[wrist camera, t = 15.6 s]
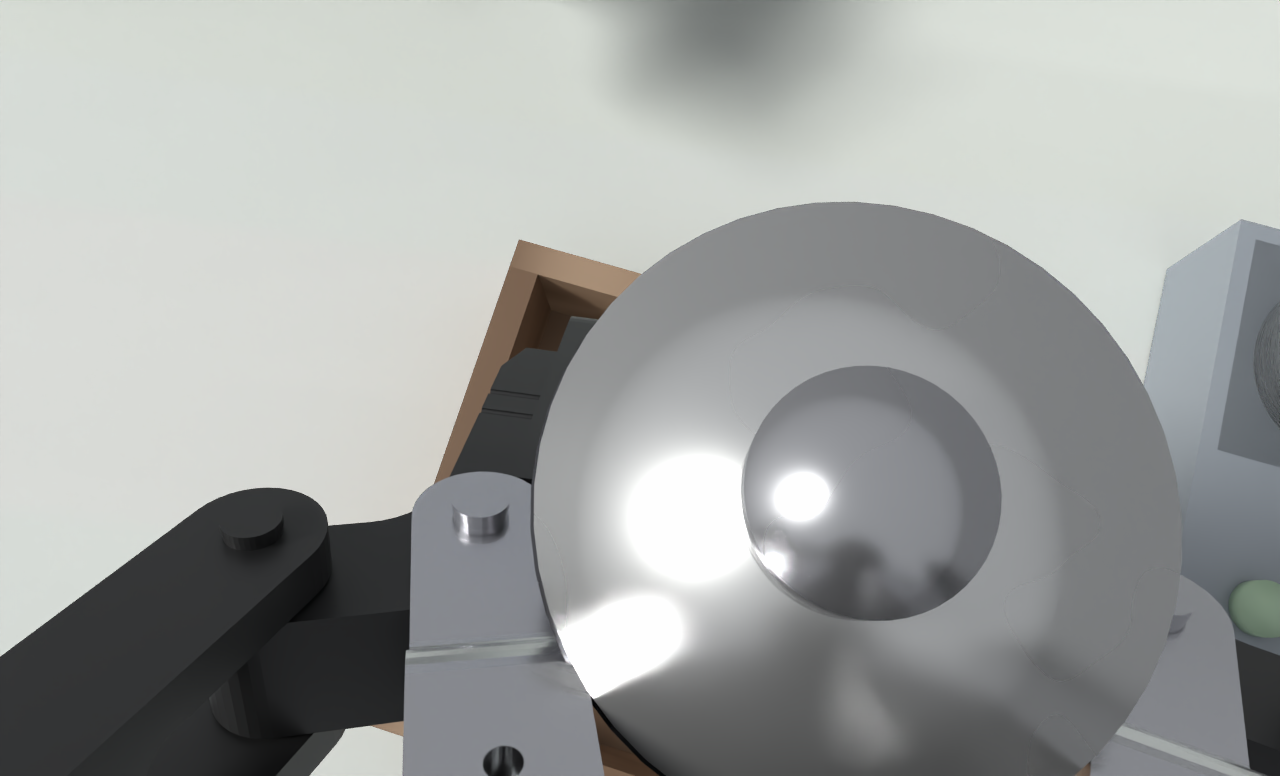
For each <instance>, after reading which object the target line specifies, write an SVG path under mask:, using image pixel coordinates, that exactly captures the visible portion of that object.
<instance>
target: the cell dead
mask: <svg viewBox="0 0 1280 776" xmlns="http://www.w3.org/2000/svg"><path fill="white" fill-rule="evenodd" d="M530 532H531V540H532V549H533V557H534V566H535V573H536V577H537V581H538V585H539V589H540V593H541V597H542V601H543V605H544V609H545V613H546V616H547V618H548V621H549V623H550V626H551V628H552V631H553V633H554V636H555V638H556V641H557V643H558V646H559V648H560V651H561V653H562V655H563V657H564V659H565V661H566V663H571V664H573V666H574V668H575V670H576V671H577V673H578V675H579V677H580V679H581V680H582V682H583V684H584V686H585V688H586V689H587V691H588V692H589V694H590V696H591V701H592V705H593V707H594V708H595V709H596V711H597V712H598V713H599V715H600V716H601V718H602V719H603V720H604V722H605V723H606V724H607V726H608V727H609V728H610V730H611V731H612V732H613V733H614V734H615V735H616V736H617V737H618V738H619V739H620V740H621V741H622V742H623V743H624V744H625V745H626V746H627V747H628V748H629V749H630V750H631V751H632V752H633V753H634V754H635V755H636V756H637V758H638V759H639V760H640V761H641V762H643V763H644V764H645V765H646V766H648V767H649V768H650V769H651V770H653V771H654V772H655V773H656V774H658V775H659V776H1074V775H1075V774H1077V773H1078V772H1079V771H1080V770H1081V769H1082V768H1083V767H1084V766H1085V765H1087V764H1088V763H1089V762H1090V761H1091V760H1092V759H1093V758H1094V757H1095V756H1097V755H1098V753H1099V752H1100V751H1101V750H1102V749H1103V747H1104V746H1105V745H1106V744H1107V743H1108V741H1109V740H1110V739H1111V738H1112V737H1113V735H1114V734H1115V733H1116V732H1117V731H1118V729H1119V728H1120V727H1121V726H1122V725H1123V723H1124V722H1125V721H1126V719H1127V718H1128V716H1129V714H1130V713H1131V711H1132V710H1133V708H1134V706H1135V705H1136V703H1137V701H1138V700H1139V698H1140V696H1141V695H1142V693H1143V692H1144V690H1145V688H1146V687H1147V685H1148V683H1149V681H1150V679H1151V676H1152V674H1153V672H1154V669H1155V667H1156V665H1157V662H1158V660H1159V658H1160V655H1161V653H1162V651H1163V648H1164V646H1165V643H1166V640H1167V636H1168V632H1169V629H1170V625H1171V621H1172V618H1173V614H1174V610H1175V607H1176V603H1177V596H1178V588H1179V580H1180V573H1181V565H1182V514H1181V507H1180V500H1179V493H1178V485H1177V478H1176V473H1175V469H1174V466H1173V462H1172V458H1171V455H1170V451H1169V447H1168V444H1167V440H1166V436H1165V433H1164V431H1163V428H1162V426H1161V423H1160V421H1159V419H1158V416H1157V414H1156V411H1155V409H1154V406H1153V404H1152V402H1151V399H1150V397H1149V394H1148V393H1147V391H1146V389H1145V387H1144V386H1143V384H1142V382H1141V380H1140V379H1139V377H1138V375H1137V373H1136V372H1135V370H1134V368H1133V366H1132V365H1131V363H1130V361H1129V359H1128V358H1127V356H1126V355H1125V354H1124V352H1123V351H1122V350H1121V348H1120V347H1119V346H1118V344H1117V343H1116V341H1115V340H1114V339H1113V337H1112V336H1111V335H1110V333H1109V332H1108V331H1107V329H1106V328H1105V327H1104V325H1103V324H1102V323H1101V322H1100V321H1099V320H1098V319H1097V318H1096V317H1095V316H1094V315H1093V314H1092V312H1091V311H1090V310H1089V309H1088V308H1087V307H1086V306H1085V305H1084V304H1083V303H1082V302H1081V301H1080V300H1079V299H1078V298H1077V297H1076V296H1075V295H1074V294H1073V293H1072V292H1071V291H1070V290H1068V289H1067V288H1066V287H1065V286H1064V285H1062V284H1061V283H1060V282H1059V281H1058V280H1056V279H1055V278H1054V277H1053V276H1052V275H1050V274H1049V273H1048V272H1047V271H1046V270H1044V269H1043V268H1042V267H1040V266H1039V265H1037V264H1036V263H1034V262H1033V261H1031V260H1029V259H1028V258H1026V257H1025V256H1023V255H1022V254H1020V253H1019V252H1017V251H1015V250H1014V249H1012V248H1011V247H1009V246H1008V245H1006V244H1004V243H1002V242H1000V241H997V240H995V239H993V238H991V237H989V236H987V235H985V234H983V233H981V232H979V231H977V230H975V229H973V228H971V227H968V226H965V225H962V224H959V223H956V222H954V221H951V220H948V219H945V218H942V217H939V216H936V215H934V214H929V213H925V212H920V211H916V210H911V209H907V208H902V207H898V206H891V205H881V204H871V203H861V202H828V203H811V204H804V205H797V206H790V207H783V208H777V209H773V210H769V211H766V212H762V213H758V214H755V215H751V216H748V217H744V218H740V219H738V220H735V221H733V222H730V223H728V224H726V225H723V226H721V227H718V228H716V229H713V230H711V231H709V232H706V233H704V234H702V235H700V236H699V237H697V238H695V239H693V240H692V241H690V242H688V243H686V244H685V245H683V246H681V247H679V248H678V249H676V250H674V251H672V252H670V253H669V254H668V255H666V256H665V257H664V258H662V259H661V260H660V261H658V262H657V263H656V264H654V265H653V266H652V267H651V268H649V269H648V270H647V271H645V272H644V273H643V274H641V275H640V276H639V277H638V278H637V279H636V280H635V281H634V282H633V283H632V284H631V285H630V286H629V287H627V288H626V289H625V290H624V291H623V292H622V293H621V294H620V295H619V296H618V297H617V298H616V299H615V300H614V301H613V302H612V303H611V304H610V306H609V307H608V308H607V309H606V310H605V312H604V313H603V314H602V315H601V317H600V318H599V319H598V321H597V322H596V323H595V324H594V326H593V327H592V328H591V329H590V331H589V332H588V333H587V335H586V336H585V337H584V338H583V340H582V342H581V343H580V345H579V347H578V348H577V350H576V352H575V354H574V355H573V357H572V359H571V360H570V362H569V364H568V365H567V367H566V369H565V370H564V372H563V374H562V377H561V379H560V381H559V384H558V386H557V388H556V391H555V393H554V395H553V398H552V400H551V402H550V405H549V407H548V409H547V413H546V417H545V420H544V424H543V427H542V431H541V434H540V438H539V442H538V445H537V449H536V456H535V463H534V470H533V477H532V484H531V516H530Z"/></svg>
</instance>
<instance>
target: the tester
mask: <svg viewBox="0 0 1280 776" xmlns="http://www.w3.org/2000/svg"><path fill="white" fill-rule="evenodd" d="M1278 303H1280V229H1276V228H1272V227H1268V226H1265V225H1261V224H1257V223H1253V222H1249V221H1246V220H1242V219H1241V220H1240V221H1238V222H1237V223H1235V224H1234V225H1232V226H1231V227H1229V228H1228V229H1226V230H1225V231H1223V232H1222V233H1220V234H1219V235H1217V236H1216V237H1214V238H1213V239H1211V240H1210V241H1208V242H1207V243H1205V244H1204V245H1202V246H1201V247H1199V248H1198V249H1196V250H1195V251H1193V252H1192V253H1190V254H1189V255H1187V256H1186V257H1184V258H1183V259H1181V260H1180V261H1178V262H1177V263H1175V264H1174V265H1172V266H1171V267H1169V268H1168V269H1167V272H1166V277H1165V282H1164V287H1163V292H1162V297H1161V302H1160V307H1159V312H1158V317H1157V322H1156V326H1155V331H1154V336H1153V341H1152V346H1151V351H1150V356H1149V361H1148V366H1147V371H1146V376H1145V381H1144V387H1145V389H1146V391H1147V393H1148V394H1149V397H1150V399H1151V402H1152V404H1153V406H1154V409H1155V411H1156V414H1157V416H1158V419H1159V421H1160V423H1161V426H1162V428H1163V431H1164V433H1165V436H1166V440H1167V444H1168V447H1169V451H1170V455H1171V458H1172V462H1173V466H1174V469H1175V473H1176V478H1177V485H1178V493H1179V500H1180V507H1181V514H1182V565H1181V573H1180V574H1181V575H1183V576H1184V577H1186V578H1188V579H1190V580H1191V581H1193V582H1195V583H1196V584H1197V585H1199V586H1200V587H1202V588H1203V589H1204V590H1206V591H1207V592H1208V593H1209V594H1210V595H1212V596H1213V597H1214V598H1215V599H1216V600H1217V601H1218V603H1219V604H1220V605H1221V606H1222V607H1223V609H1224V610H1225V611H1226V613H1227V614H1228V616H1229V618H1230V620H1231V622H1232V625H1233V629H1234V635H1235V639H1236V640H1239V641H1241V642H1244V643H1246V644H1249V645H1252V646H1254V647H1257V648H1260V649H1263V650H1266V651H1269V652H1271V653H1274V654H1277V655H1280V429H1279V427H1278V426H1277V425H1276V423H1275V422H1274V421H1273V420H1272V418H1271V417H1270V415H1269V413H1268V412H1267V410H1266V408H1265V406H1264V404H1263V402H1262V400H1261V398H1260V395H1259V392H1258V389H1257V386H1256V381H1255V376H1254V365H1253V357H1254V347H1255V343H1256V339H1257V335H1258V333H1259V331H1260V328H1261V326H1262V324H1263V322H1264V321H1265V319H1266V317H1267V316H1268V314H1269V313H1270V312H1271V311H1272V310H1273V308H1274V307H1275V306H1276V305H1277V304H1278Z"/></svg>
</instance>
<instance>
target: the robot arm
mask: <svg viewBox="0 0 1280 776" xmlns="http://www.w3.org/2000/svg"><path fill="white" fill-rule="evenodd" d="M597 321H598V319H590V318H583V317H575V316H571V318H570V320H569V322H568V325H567V327H566V330H565V332H564V335H563V338H562V340H561V343H560V346H559V348H558V351H557V352H556V351H548V350H540V349H533V348H525V349H524V350H523V351H521V352H520V353H518V354H517V355H516V356H514V357H513V358H511V359H510V360H509V361H507V362H506V363H505V364H503V365H502V366H501V368H500V370H499V372H498V374H497V376H496V378H495V380H494V382H493V385H492V387H491V389H490V394H489V393H488V395H487V397H486V400H485V402H484V404H483V406H482V410H481V413H479V415H478V417H477V419H476V421H475V423H474V425H473V427H472V430H471V432H470V434H469V436H468V438H467V440H466V442H465V445H464V447H463V449H462V451H461V453H460V455H459V457H458V459H457V462H456V464H455V466H454V468H453V470H452V472H451V474H450V477H448V478H445V479H443V480H441V481H439V482H437V483H435V484H433V485H432V486H430V487H429V488H428V489H426V490H425V491H424V492H423V493H422V494H421V495H420V497H419V498H418V499H417V501H416V502H415V505H414V507H413V511H412V512H410V513H408V514H405V515H402V516H399V517H396V518H392V519H387V520H383V521H375V522H367V523H355V524H343V525H332V526H328V522H327V517H326V514H325V512H324V510H323V508H322V507H321V506H320V505H319V504H318V503H317V502H316V501H314V500H313V499H312V498H310V497H308V496H306V495H304V494H302V493H299V492H296V491H292V490H287V489H281V488H255V489H249V490H242V491H239V492H235V493H231V494H228V495H225V496H223V497H220V498H218V499H216V500H214V501H211V502H209V503H207V504H206V505H204V506H203V507H201V508H200V509H198V510H197V511H195V512H194V513H193V514H191V515H190V516H189V517H187V518H186V519H185V520H183V521H182V522H181V523H179V524H178V525H177V526H175V527H174V528H173V529H171V530H170V531H169V532H167V533H166V534H165V535H163V536H162V537H161V538H159V539H158V540H157V541H155V542H154V543H152V544H151V545H150V546H148V547H147V548H146V549H144V550H143V551H142V552H140V553H139V554H138V555H136V556H135V557H134V558H132V559H131V560H130V561H128V562H127V563H126V564H124V565H123V566H122V567H120V568H119V569H118V570H116V571H115V572H114V573H112V574H111V575H109V576H108V577H107V578H105V579H104V580H103V581H101V582H100V583H99V584H97V585H96V586H95V587H93V588H92V589H91V590H89V591H88V592H87V593H85V594H84V595H83V596H81V597H80V598H79V599H77V600H76V601H75V602H73V603H72V604H71V605H69V606H68V607H66V608H65V609H64V610H62V611H61V612H60V613H58V614H57V615H56V616H54V617H53V618H52V619H50V620H49V621H48V622H46V623H45V624H44V625H42V626H41V627H40V628H38V629H37V630H36V631H34V632H33V633H32V634H30V635H29V636H28V637H26V638H25V639H23V640H22V641H21V642H19V643H18V644H17V645H15V646H14V647H13V648H11V649H10V650H9V651H7V652H6V653H5V654H3V655H2V656H1V657H0V776H309V775H310V774H311V773H312V772H313V771H314V769H315V768H316V767H317V766H318V765H319V764H320V762H321V761H322V760H323V759H324V758H325V757H326V755H327V754H328V753H329V752H330V751H331V750H332V748H333V747H334V746H335V745H336V744H337V742H338V741H339V739H340V738H341V737H342V735H343V733H344V731H345V729H348V728H356V727H363V726H371V725H378V724H386V723H393V722H401V721H404V732H403V776H604V770H603V764H602V759H601V753H600V747H599V742H598V736H597V730H596V724H595V719H594V713H593V707H592V701H591V696H590V694H589V692H588V691H587V689H586V688H585V686H584V684H583V682H582V680H581V679H580V677H579V675H578V673H577V671H576V670H575V668H574V666H573V664H571V663H566V661H565V659H564V657H563V655H562V653H561V651H560V648H559V646H558V643H557V641H556V638H555V636H554V633H553V631H552V628H551V626H550V623H549V621H548V618H547V616H546V613H545V609H544V605H543V601H542V597H541V593H540V589H539V585H538V581H537V577H536V573H535V566H534V557H533V549H532V540H531V532H530V516H531V484H532V477H533V470H534V463H535V456H536V449H537V445H538V442H539V438H540V434H541V431H542V427H543V424H544V420H545V417H546V413H547V409H548V407H549V405H550V402H551V400H552V398H553V395H554V393H555V391H556V388H557V386H558V384H559V381H560V379H561V377H562V374H563V372H564V370H565V369H566V367H567V365H568V364H569V362H570V360H571V359H572V357H573V355H574V354H575V352H576V350H577V348H578V347H579V345H580V343H581V342H582V340H583V338H584V337H585V336H586V335H587V333H588V332H589V331H590V329H591V328H592V327H593V326H594V324H595V323H596V322H597ZM1074 776H1280V655H1277V654H1274V653H1271V652H1269V651H1266V650H1263V649H1260V648H1257V647H1254V646H1252V645H1249V644H1246V643H1244V642H1241V641H1239V640H1236V639H1235V635H1234V629H1233V625H1232V622H1231V620H1230V618H1229V616H1228V614H1227V613H1226V611H1225V610H1224V609H1223V607H1222V606H1221V605H1220V604H1219V603H1218V601H1217V600H1216V599H1215V598H1214V597H1213V596H1212V595H1210V594H1209V593H1208V592H1207V591H1206V590H1204V589H1203V588H1202V587H1200V586H1199V585H1197V584H1196V583H1195V582H1193V581H1191V580H1190V579H1188V578H1186V577H1184V576H1183V575H1181V574H1180V580H1179V588H1178V596H1177V603H1176V607H1175V610H1174V614H1173V618H1172V621H1171V625H1170V629H1169V632H1168V636H1167V640H1166V643H1165V646H1164V648H1163V651H1162V653H1161V655H1160V658H1159V660H1158V662H1157V665H1156V667H1155V669H1154V672H1153V674H1152V676H1151V679H1150V681H1149V683H1148V685H1147V687H1146V688H1145V690H1144V692H1143V693H1142V695H1141V696H1140V698H1139V700H1138V701H1137V703H1136V705H1135V706H1134V708H1133V710H1132V711H1131V713H1130V714H1129V716H1128V718H1127V719H1126V721H1125V722H1124V723H1123V725H1122V726H1121V727H1120V728H1119V729H1118V731H1117V732H1116V733H1115V734H1114V735H1113V737H1112V738H1111V739H1110V740H1109V741H1108V743H1107V744H1106V745H1105V746H1104V747H1103V749H1102V750H1101V751H1100V752H1099V753H1098V755H1097V756H1095V757H1094V758H1093V759H1092V760H1091V761H1090V762H1089V763H1088V764H1087V765H1085V766H1084V767H1083V768H1082V769H1081V770H1080V771H1079V772H1078V773H1077V774H1075V775H1074Z"/></svg>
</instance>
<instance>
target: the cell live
mask: <svg viewBox="0 0 1280 776" xmlns="http://www.w3.org/2000/svg"><path fill="white" fill-rule="evenodd" d="M1253 365H1254V376H1255V381H1256V386H1257V389H1258V392H1259V395H1260V398H1261V400H1262V402H1263V404H1264V406H1265V408H1266V410H1267V412H1268V413H1269V415H1270V417H1271V418H1272V420H1273V421H1274V422H1275V423H1276V425H1277V426H1278V427H1279V429H1280V303H1278V304H1277V305H1276V306H1275V307H1274V308H1273V310H1272V311H1271V312H1270V313H1269V314H1268V316H1267V317H1266V319H1265V321H1264V322H1263V324H1262V326H1261V328H1260V331H1259V333H1258V335H1257V339H1256V343H1255V347H1254V357H1253Z"/></svg>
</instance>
